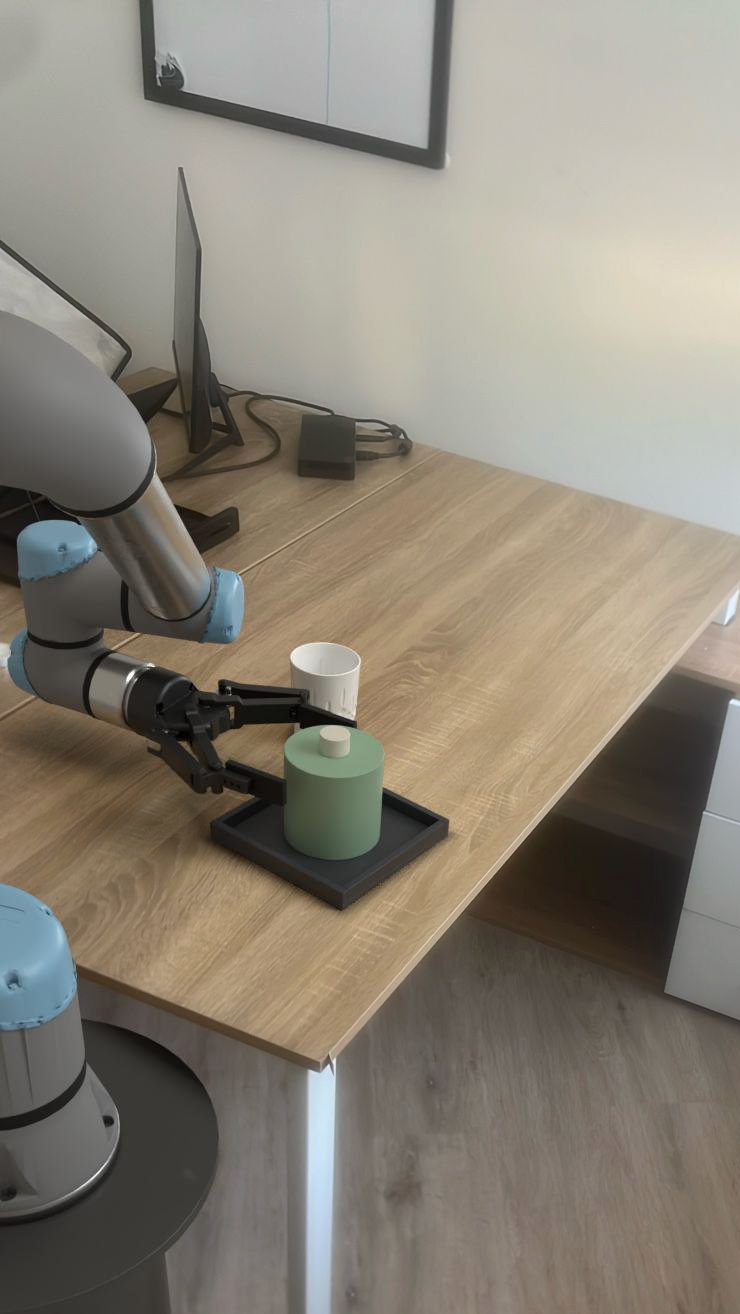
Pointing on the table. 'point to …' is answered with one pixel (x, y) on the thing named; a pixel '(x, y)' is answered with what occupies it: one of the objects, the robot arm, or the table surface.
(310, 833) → the cover
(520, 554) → the table surface
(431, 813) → the tray
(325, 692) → the white cup
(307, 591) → the table surface
